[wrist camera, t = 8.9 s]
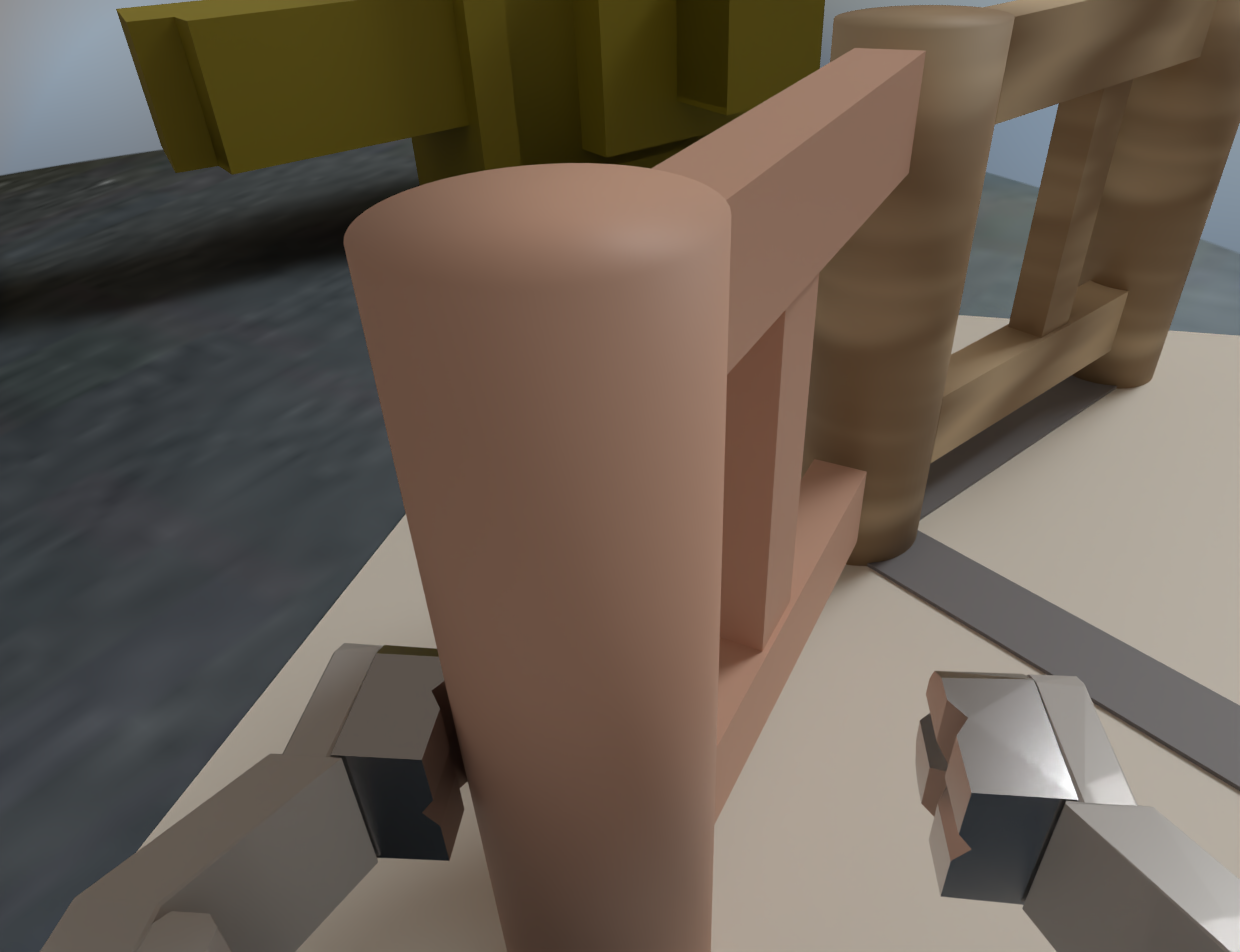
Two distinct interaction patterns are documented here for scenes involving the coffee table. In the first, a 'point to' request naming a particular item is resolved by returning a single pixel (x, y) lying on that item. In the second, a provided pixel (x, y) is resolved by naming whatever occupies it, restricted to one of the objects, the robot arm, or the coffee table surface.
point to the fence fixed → (1059, 236)
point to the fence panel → (624, 481)
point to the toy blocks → (460, 77)
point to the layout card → (908, 675)
